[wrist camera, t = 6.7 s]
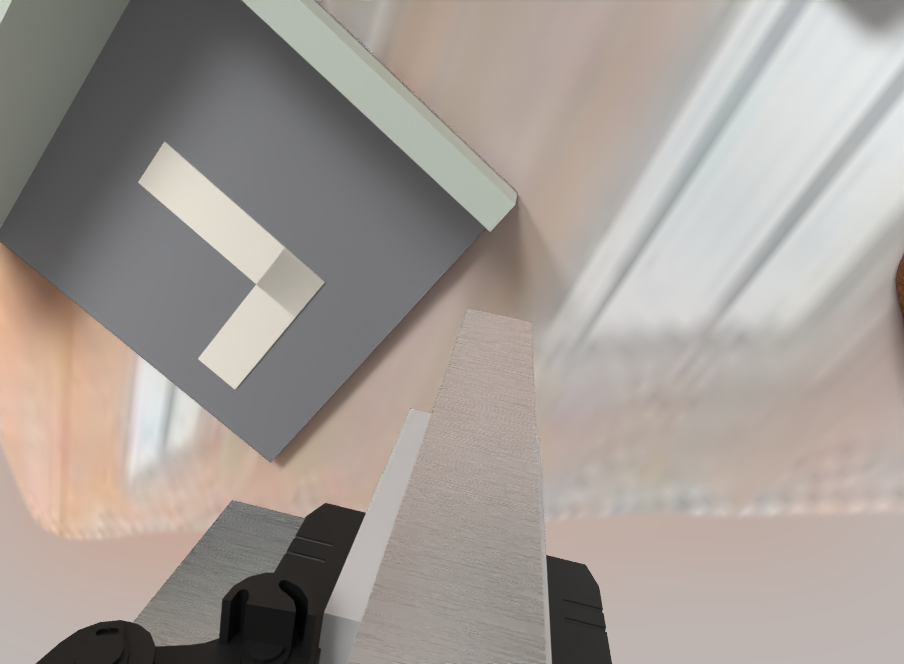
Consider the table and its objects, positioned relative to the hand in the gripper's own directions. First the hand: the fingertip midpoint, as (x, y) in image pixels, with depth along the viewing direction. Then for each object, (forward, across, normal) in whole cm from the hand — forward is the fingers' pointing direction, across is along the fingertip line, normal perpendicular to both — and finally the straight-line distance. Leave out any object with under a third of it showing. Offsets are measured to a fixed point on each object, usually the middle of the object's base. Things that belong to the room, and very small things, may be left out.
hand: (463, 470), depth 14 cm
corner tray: (+18, -15, +2) cm, 24 cm away
